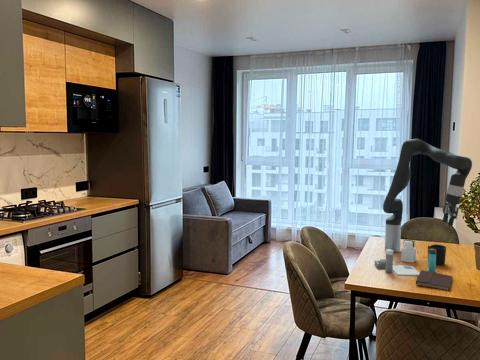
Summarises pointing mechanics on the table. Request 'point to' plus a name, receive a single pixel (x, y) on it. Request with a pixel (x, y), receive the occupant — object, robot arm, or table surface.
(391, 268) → the grey marker
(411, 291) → the table surface
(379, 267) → the button housing
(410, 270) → the sheet
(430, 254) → the marker
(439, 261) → the pen holder
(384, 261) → the button
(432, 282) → the notebook
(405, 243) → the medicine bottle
